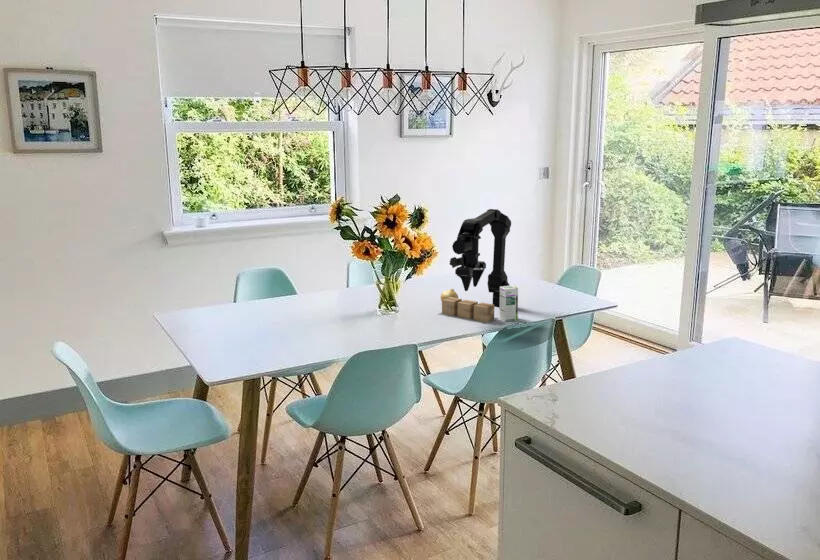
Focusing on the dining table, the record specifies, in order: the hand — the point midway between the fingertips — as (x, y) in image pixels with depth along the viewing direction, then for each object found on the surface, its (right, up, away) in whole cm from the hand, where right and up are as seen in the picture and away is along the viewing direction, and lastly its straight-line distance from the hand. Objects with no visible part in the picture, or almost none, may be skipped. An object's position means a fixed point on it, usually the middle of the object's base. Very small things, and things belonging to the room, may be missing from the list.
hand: (470, 288), depth 282 cm
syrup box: (+15, -13, 0) cm, 20 cm away
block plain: (-1, -11, +4) cm, 12 cm away
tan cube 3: (-7, -10, +9) cm, 16 cm away
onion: (-7, -8, +28) cm, 30 cm away
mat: (-1, -12, +5) cm, 13 cm away
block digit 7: (+5, -12, -1) cm, 14 cm away
